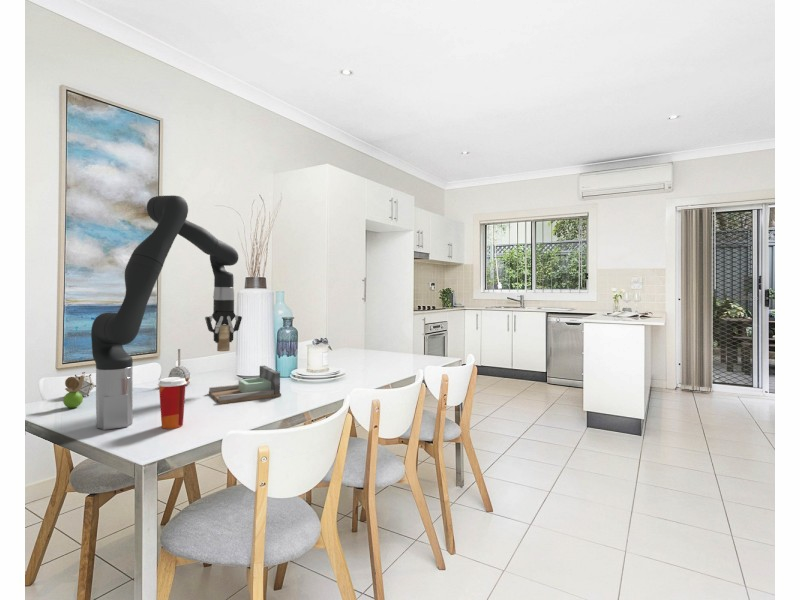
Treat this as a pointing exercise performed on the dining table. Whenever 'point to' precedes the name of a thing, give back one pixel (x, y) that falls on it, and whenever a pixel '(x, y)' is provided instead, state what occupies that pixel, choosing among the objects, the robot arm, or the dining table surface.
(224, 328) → the dowel
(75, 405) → the snail figurine
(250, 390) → the green square tray
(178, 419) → the paper cup
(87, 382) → the spiky polyhedron ball
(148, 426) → the dining table surface
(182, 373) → the decorative ornament
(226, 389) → the track
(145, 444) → the dining table surface
